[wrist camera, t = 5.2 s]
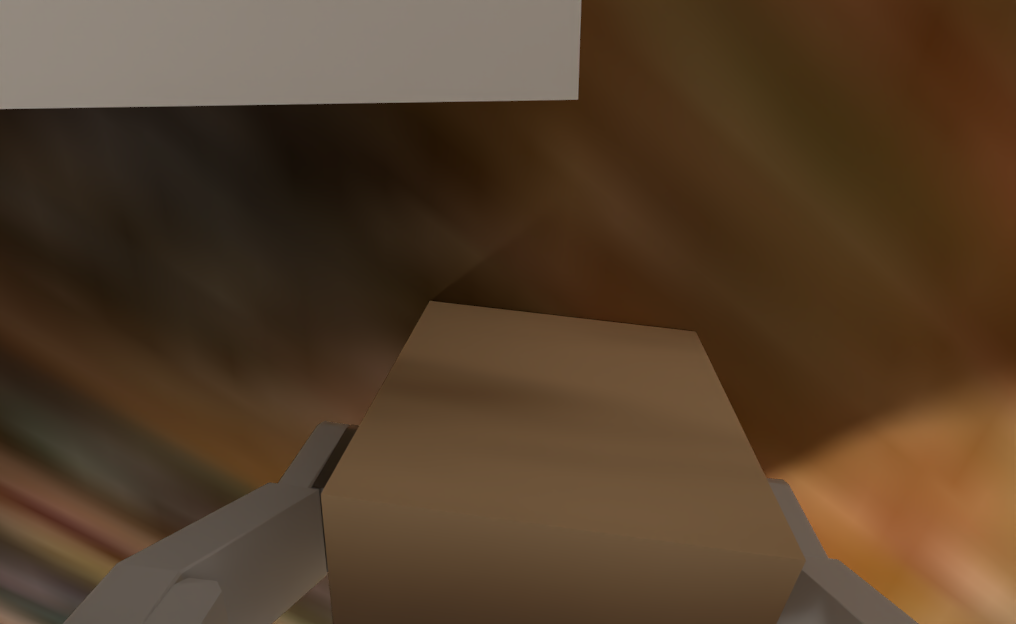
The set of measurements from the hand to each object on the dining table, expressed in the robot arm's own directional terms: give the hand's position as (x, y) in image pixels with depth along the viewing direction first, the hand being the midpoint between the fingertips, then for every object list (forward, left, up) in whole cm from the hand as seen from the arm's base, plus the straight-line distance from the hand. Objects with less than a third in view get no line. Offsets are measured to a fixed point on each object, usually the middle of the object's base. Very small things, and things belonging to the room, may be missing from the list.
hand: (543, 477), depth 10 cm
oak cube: (0, 0, -2) cm, 2 cm away
